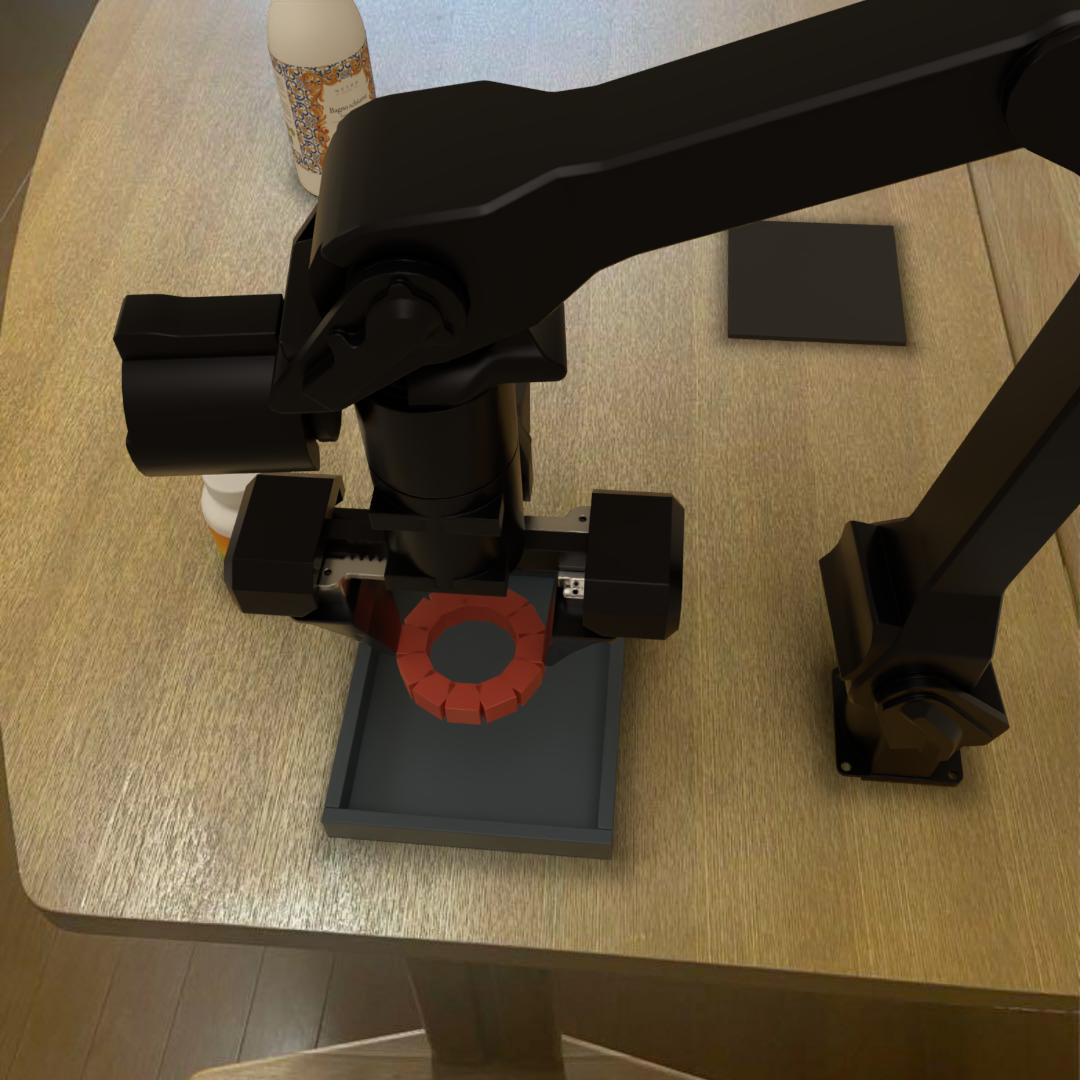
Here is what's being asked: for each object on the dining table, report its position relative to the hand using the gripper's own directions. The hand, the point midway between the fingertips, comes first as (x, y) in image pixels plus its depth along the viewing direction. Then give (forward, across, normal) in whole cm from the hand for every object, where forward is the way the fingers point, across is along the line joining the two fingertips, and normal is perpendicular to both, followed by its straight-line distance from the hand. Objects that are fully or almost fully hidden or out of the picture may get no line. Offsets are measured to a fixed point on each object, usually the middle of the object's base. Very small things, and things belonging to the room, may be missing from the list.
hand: (473, 652), depth 57 cm
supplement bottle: (+10, +14, -11) cm, 20 cm away
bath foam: (+10, +17, -48) cm, 51 cm away
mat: (+10, -19, -38) cm, 43 cm away
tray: (+10, 0, -3) cm, 10 cm away
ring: (+1, 0, 0) cm, 1 cm away
